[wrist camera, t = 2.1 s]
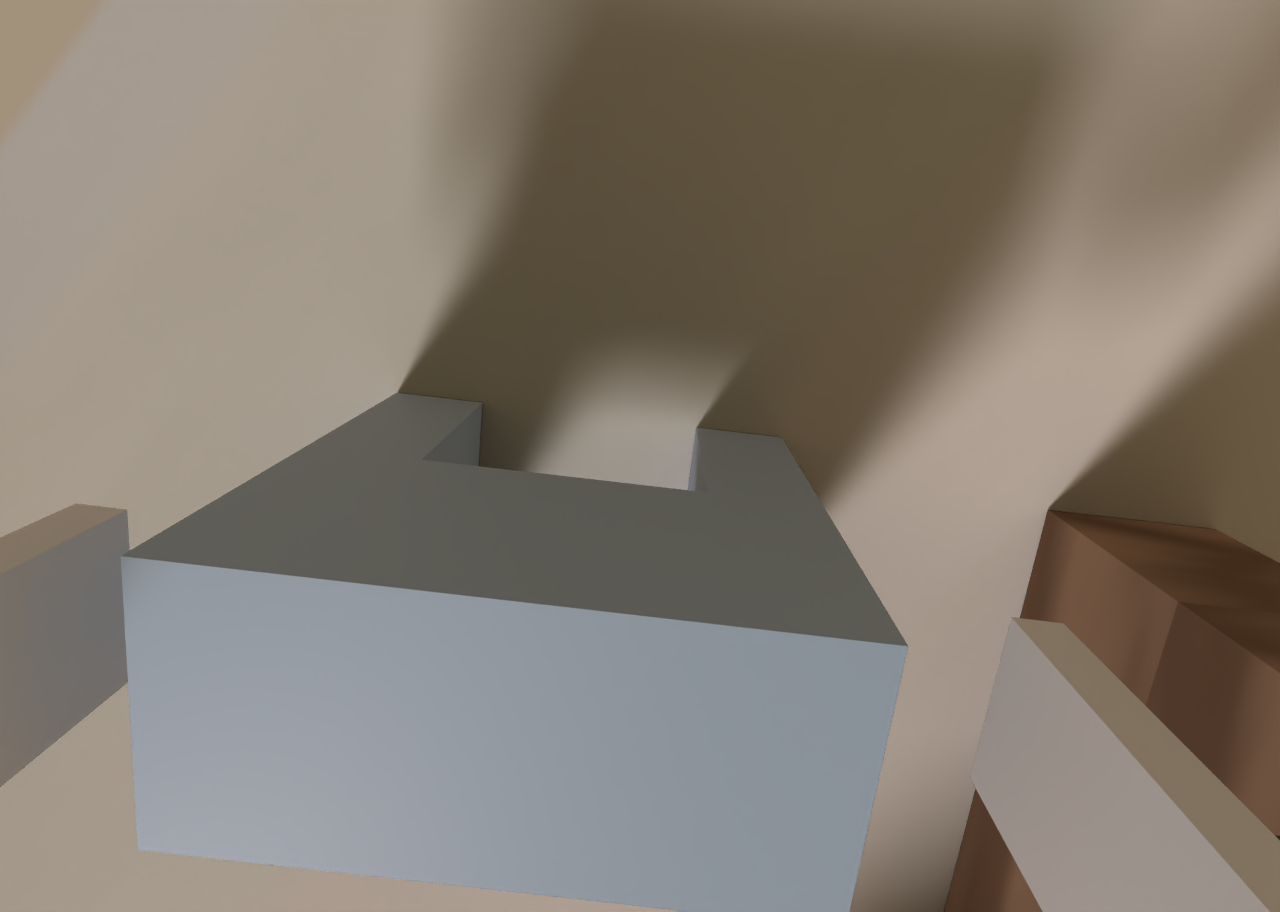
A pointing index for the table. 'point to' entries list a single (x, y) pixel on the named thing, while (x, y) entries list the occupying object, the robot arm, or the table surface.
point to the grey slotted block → (514, 674)
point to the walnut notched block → (1155, 661)
